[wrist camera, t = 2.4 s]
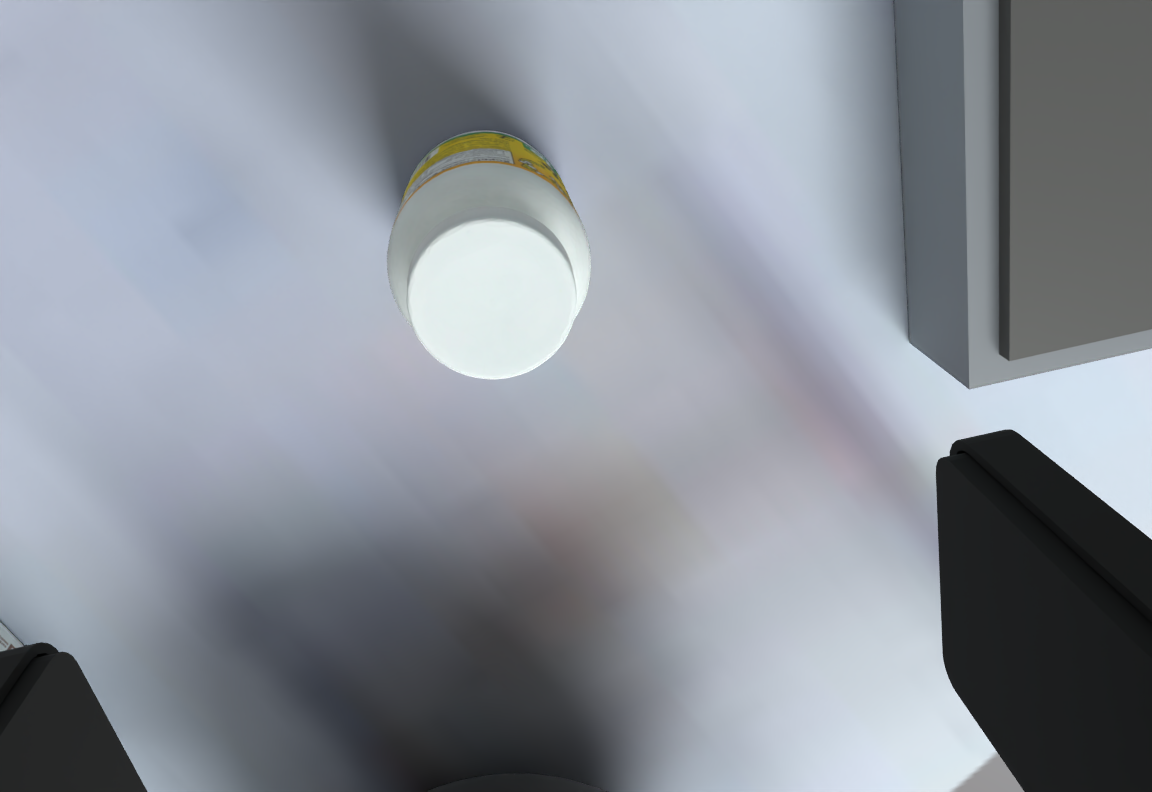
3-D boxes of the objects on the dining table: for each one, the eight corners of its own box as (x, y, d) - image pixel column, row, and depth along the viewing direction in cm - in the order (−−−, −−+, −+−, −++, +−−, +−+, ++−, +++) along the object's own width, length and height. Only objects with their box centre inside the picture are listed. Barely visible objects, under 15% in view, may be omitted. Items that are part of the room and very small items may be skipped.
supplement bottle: (386, 145, 28) (346, 208, 20) (552, 113, 29) (585, 161, 20) (427, 305, 31) (407, 425, 22) (580, 274, 31) (622, 382, 22)
